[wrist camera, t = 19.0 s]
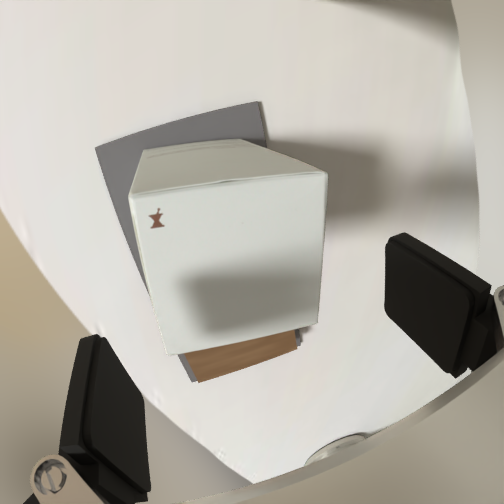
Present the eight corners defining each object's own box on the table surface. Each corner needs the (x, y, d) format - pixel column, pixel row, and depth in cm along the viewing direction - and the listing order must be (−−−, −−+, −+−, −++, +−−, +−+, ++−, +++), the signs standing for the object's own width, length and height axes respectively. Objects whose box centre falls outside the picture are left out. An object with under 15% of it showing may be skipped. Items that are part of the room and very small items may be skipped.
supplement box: (154, 244, 24) (160, 361, 13) (141, 147, 21) (122, 189, 10) (248, 231, 26) (320, 328, 15) (244, 137, 22) (332, 168, 11)
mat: (299, 342, 33) (300, 345, 33) (191, 379, 31) (192, 382, 31) (255, 101, 22) (257, 101, 21) (95, 147, 20) (94, 147, 20)
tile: (274, 251, 27) (289, 336, 32) (158, 288, 25) (195, 368, 30) (282, 261, 25) (297, 349, 30) (159, 301, 24) (198, 382, 28)
